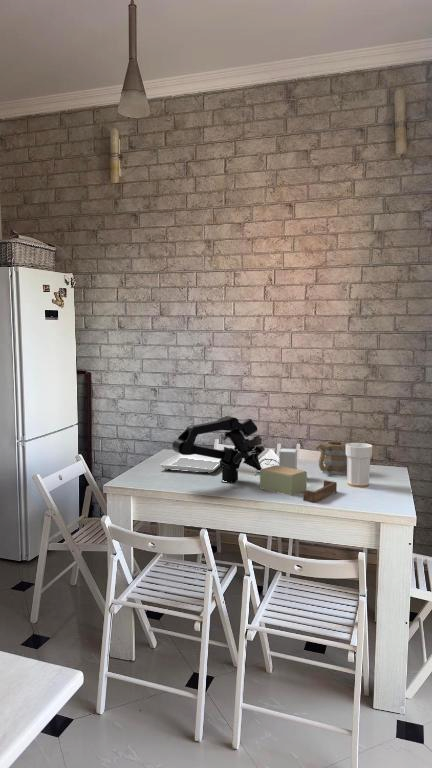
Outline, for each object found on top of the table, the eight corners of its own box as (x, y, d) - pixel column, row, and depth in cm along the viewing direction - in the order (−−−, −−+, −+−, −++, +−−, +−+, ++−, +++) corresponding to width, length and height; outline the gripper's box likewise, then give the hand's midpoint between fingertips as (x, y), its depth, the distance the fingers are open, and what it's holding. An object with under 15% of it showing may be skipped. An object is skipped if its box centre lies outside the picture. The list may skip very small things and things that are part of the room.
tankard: (336, 468, 274) (336, 437, 273) (355, 473, 263) (356, 441, 262) (305, 473, 263) (305, 441, 262) (324, 479, 253) (324, 446, 251)
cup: (352, 488, 236) (353, 448, 235) (339, 482, 247) (340, 443, 246) (376, 486, 239) (377, 446, 238) (362, 480, 250) (363, 442, 249)
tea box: (259, 488, 237) (260, 469, 236) (275, 483, 245) (275, 464, 244) (291, 496, 226) (291, 475, 225) (306, 490, 234) (306, 470, 233)
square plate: (158, 472, 266) (158, 463, 266) (179, 460, 292) (179, 452, 292) (213, 476, 258) (213, 468, 258) (229, 463, 284) (229, 456, 284)
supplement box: (297, 475, 258) (297, 448, 257) (295, 479, 251) (295, 452, 250) (281, 474, 260) (281, 447, 259) (278, 478, 253) (279, 451, 252)
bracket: (303, 500, 219) (303, 490, 219) (324, 489, 235) (324, 480, 234) (315, 502, 216) (315, 492, 216) (336, 491, 232) (336, 482, 231)
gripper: (239, 433, 236) (261, 462, 230) (261, 427, 251) (282, 455, 246) (223, 449, 241) (244, 478, 235) (246, 443, 256) (266, 470, 251)
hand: (260, 469), depth 242 cm, fingers closed
